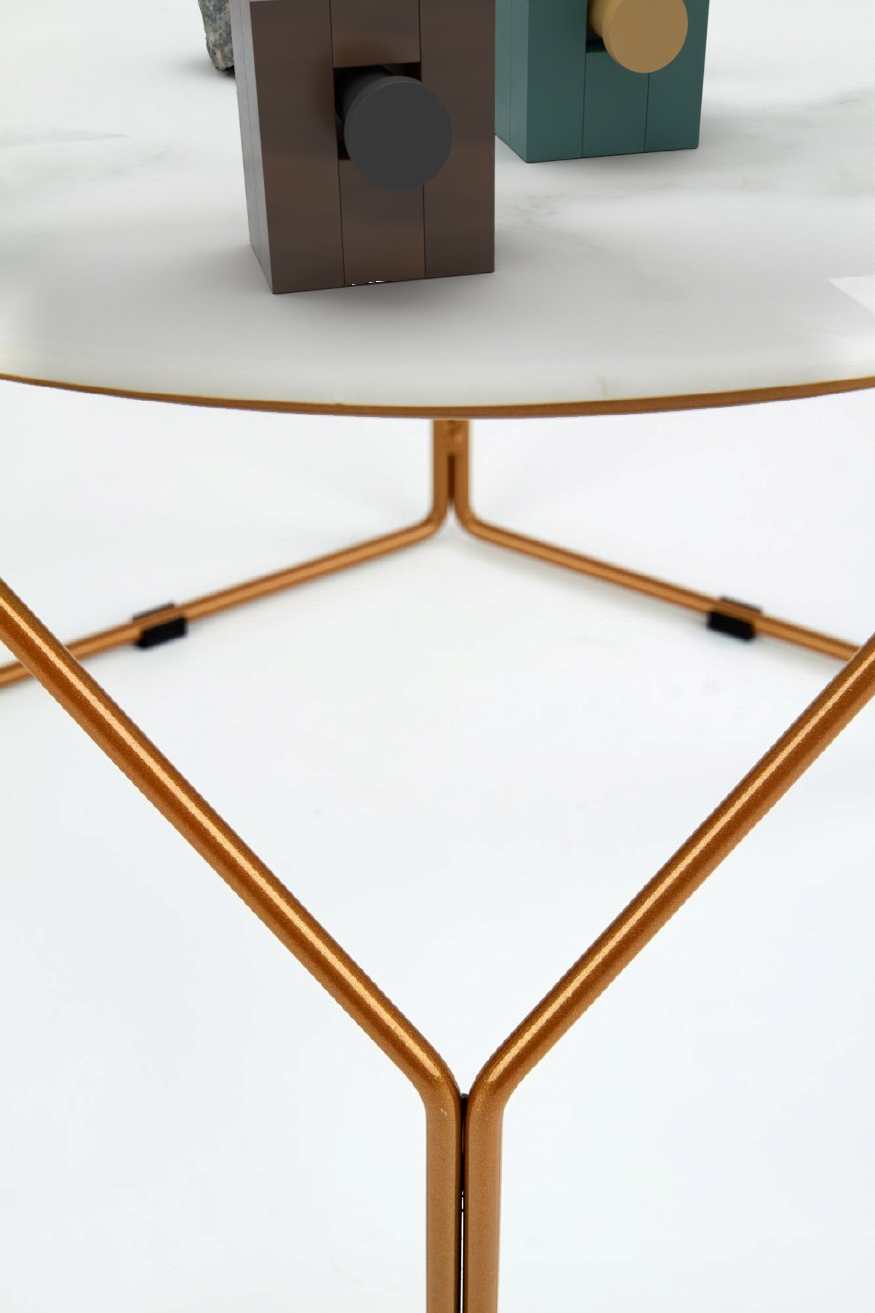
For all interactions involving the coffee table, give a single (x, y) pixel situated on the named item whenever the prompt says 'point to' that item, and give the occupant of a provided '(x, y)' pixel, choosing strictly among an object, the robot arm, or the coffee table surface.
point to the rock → (218, 31)
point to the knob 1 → (393, 127)
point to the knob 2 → (639, 31)
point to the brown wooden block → (314, 152)
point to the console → (590, 86)
